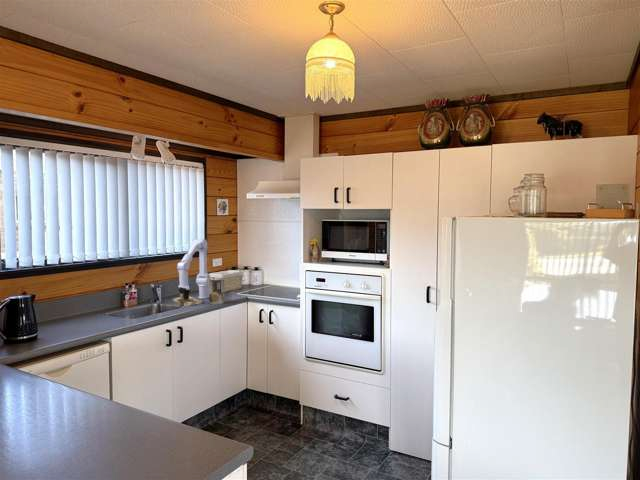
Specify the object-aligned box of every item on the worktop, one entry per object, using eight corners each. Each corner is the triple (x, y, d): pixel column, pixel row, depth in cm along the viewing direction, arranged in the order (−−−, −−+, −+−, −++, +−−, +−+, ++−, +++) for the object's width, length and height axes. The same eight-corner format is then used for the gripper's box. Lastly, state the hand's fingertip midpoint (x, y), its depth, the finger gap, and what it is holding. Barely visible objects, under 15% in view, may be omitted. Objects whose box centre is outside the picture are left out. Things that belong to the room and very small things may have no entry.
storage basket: (230, 287, 377) (229, 269, 376) (244, 288, 368) (243, 270, 367) (208, 291, 357) (207, 273, 356) (223, 293, 348) (222, 274, 347)
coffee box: (225, 302, 314) (223, 279, 313) (222, 304, 308) (221, 280, 307) (212, 302, 315) (211, 279, 314) (209, 304, 309) (208, 281, 308)
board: (189, 298, 331) (189, 296, 330) (202, 303, 312) (202, 300, 312) (173, 301, 323) (173, 298, 323) (185, 306, 304) (185, 303, 304)
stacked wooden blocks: (192, 302, 316) (191, 292, 316) (194, 303, 312) (194, 292, 312) (177, 304, 310) (177, 294, 309) (180, 305, 306) (179, 295, 305)
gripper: (174, 279, 313) (175, 298, 313) (182, 281, 301) (183, 301, 302) (184, 277, 317) (185, 296, 318) (192, 279, 305) (193, 299, 306)
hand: (184, 298), depth 310 cm, fingers closed on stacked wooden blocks, 4 cm apart
